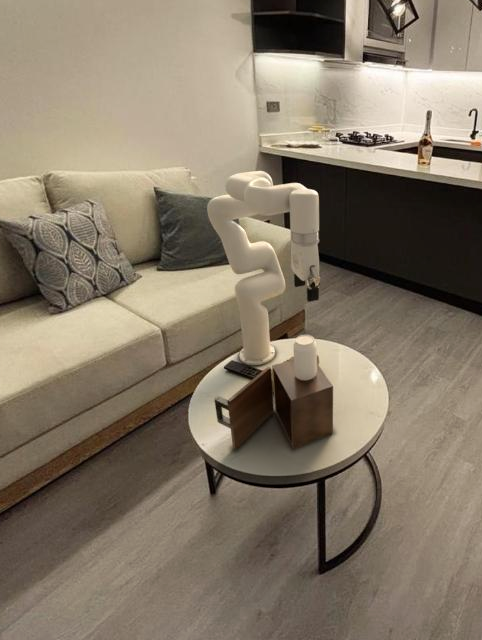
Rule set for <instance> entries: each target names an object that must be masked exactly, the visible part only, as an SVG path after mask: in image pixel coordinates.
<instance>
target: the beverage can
mask: <svg viewBox="0 0 482 640" xmlns="http://www.w3.org/2000/svg"><path fill="white" fill-rule="evenodd" d="M292 347H293V357H294V372H295V376H296V378H298V379H300V380H310V379H312V378H314V377H315V376H316V373H317V355H318V354H317V353H318V352H317V342H316V341H315V337H314V336H312V335H311V334H300V335H298V336H297V337H296V338H295V342H294V343H293V346H292Z"/></svg>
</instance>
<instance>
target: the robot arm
mask: <svg viewBox="0 0 482 640" xmlns="http://www.w3.org/2000/svg"><path fill="white" fill-rule="evenodd" d="M224 185H225V186H224V189H225V192H227V194H223V195H218V196H216V197H213V198H211V199H210V200H209V201H208V203H207V207H206V211H207V216H208V220H209V222H210V224H211V226H212V228H213V230H215V232H216V233H217V235H218V236H219V239H220V241H221V243H222V247H223V249H224V253H225V256H226V258H227V261H228V264H229V267H230V269H231V270H232V272H233V273H234V274H236V275H245V274H249V273H252V272H255V271H258V270H262V271H263V272H260V273H256V274H253V275H249V276H247V277H243V278H241V279H240V280H238V281H237V282H236V284H235V285H234V294H235V298H236V301H237V305H238V311H239V319H240V329H241V337H242V338H241V341H242V349H241V350H240V352H239V355H238V356H239V360H240V362H242V363H243V364H245V365H248V366H260V365H264V364H267V363H268V362H271V360H273V358H274V357H275V355H276V349H275V347H274V346H273V345H271V338H270V323H269V322H270V320H269V312H268V309H267V308H266V307H265V306H264V305H263V304H262V303H263V302H265V301H267V300H269V299H273V298H275V297H278V296H280V295H282V294H284V292H285V290H286V280H285V277H284V274H283V271H282V268H281V265H280V262H279V259H278V256H277V254H276V252H275V249H274V247H273V246H272V245H271V243H269V242H268V241H263V240H261V241H256V242H252V243H251V242H250V240H249V238H248V234H247V232H246V230H245V229H244V228H243V227H242V226H241V225H240V224H238V223H237V222H236V221H234V220H238V219H239V220H240V219H244V218H249V217H254V216H257V215H260V216H263V217H264V216H265V217H267V216H268V217H269V216H275V215H280V214H285V213H289V225H290V226H289V227H290V228H289V229H290V243H291V245H290V268H291V271H292V272H293V281H294V282H293V283H294V287H295V288H297V287H298V288H300V287H304V286H306V284H307V287H306V301H307V302H308V303H311V302H315V301H319V299H320V293H319V292H320V289H319V288H320V285H321V284H320V282H321V276H320V256H319V246H318V244H319V243H320V199H319V198H320V197H319V193H318V192H317V191H316V190H315V189H311V188H307V187H306V186H304V185H303V184H301V183H300V182H299V183H298V182H290V183H284V184H283V183H282V184H276V185H274V183H273V179H272V177H271V176H270V175H269V173H268V172H266V171H263V170H253V171H246V172H245V171H244V172H237V173H234V174H232V175H230V176H229V177H228V178H227V179H226V181H225V184H224Z"/></svg>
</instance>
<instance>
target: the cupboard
mask: <svg viewBox="0 0 482 640" xmlns="http://www.w3.org/2000/svg"><path fill="white" fill-rule="evenodd" d="M272 369H273V385H274V392H273V402H274V412H275V414H276V416H277V418H278V420H279V422H280V424H281V426H282V429H283V431H284V433H285V435H286V436H287V439H288V441H289V443H290V445H291V447H292V450H294V449H296V448H299V447H301V446H304V445H307V444H308V443H309V444H310V443H311V442H313V441H316V440H319V439H321V438H324V437H327V436H329V435H331V434H333V433H334V385H333V384H332V382H331V381H330V380H329V378H328V377H327V375H326V374H325V372H324V371H323V370H322V368H321V367H320V364H319V365H318V364H317V373H316V376H315V377H314V378H312V379H310V380H300V379H298V378H296V376H295V372H294V359H293V360H290V361H287V362H284V361H282V362H280V363H276V364H273V365H272V367H271V370H272Z"/></svg>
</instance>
